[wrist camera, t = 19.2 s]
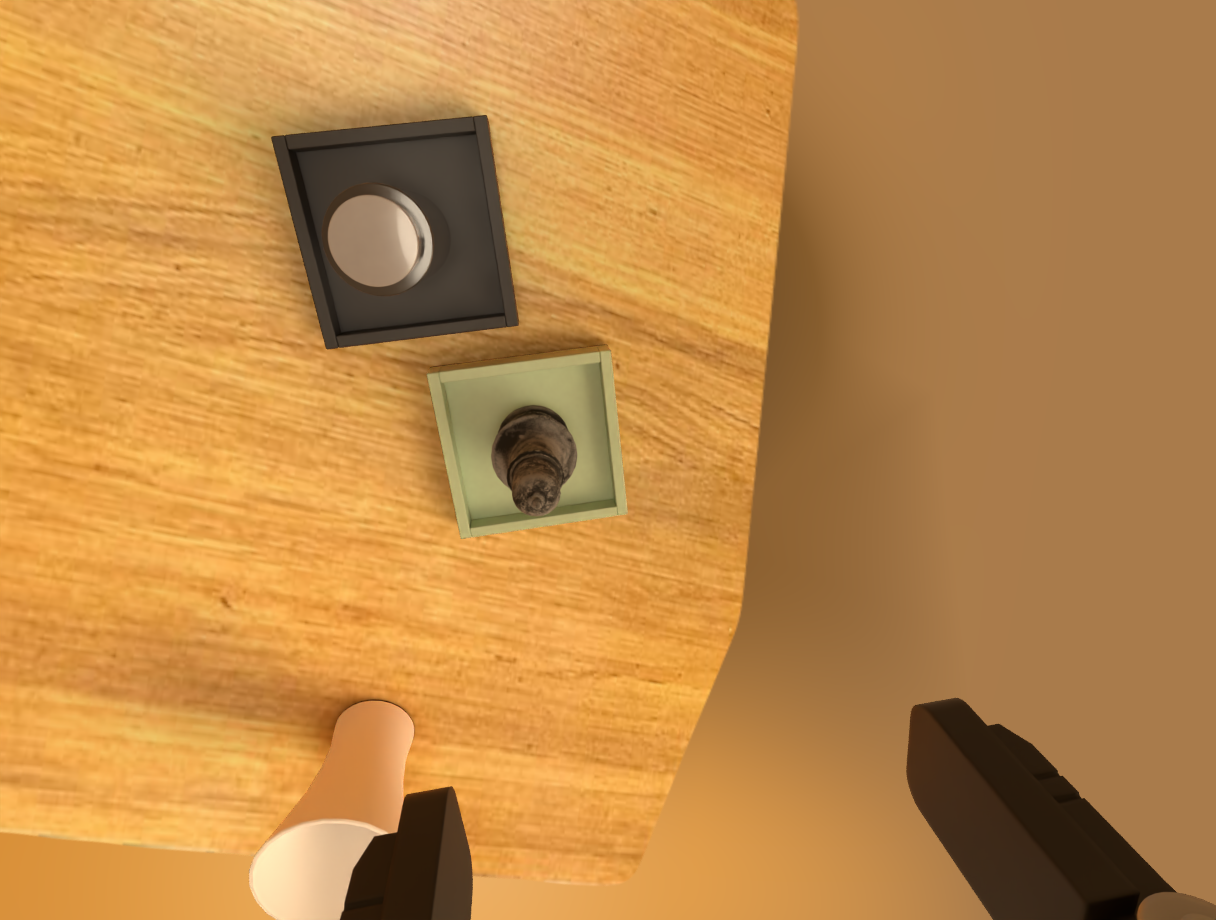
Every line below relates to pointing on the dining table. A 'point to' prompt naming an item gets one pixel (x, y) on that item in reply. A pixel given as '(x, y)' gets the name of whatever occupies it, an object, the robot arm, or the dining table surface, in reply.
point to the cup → (336, 816)
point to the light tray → (496, 388)
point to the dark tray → (426, 164)
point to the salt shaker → (534, 458)
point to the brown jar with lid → (384, 238)
